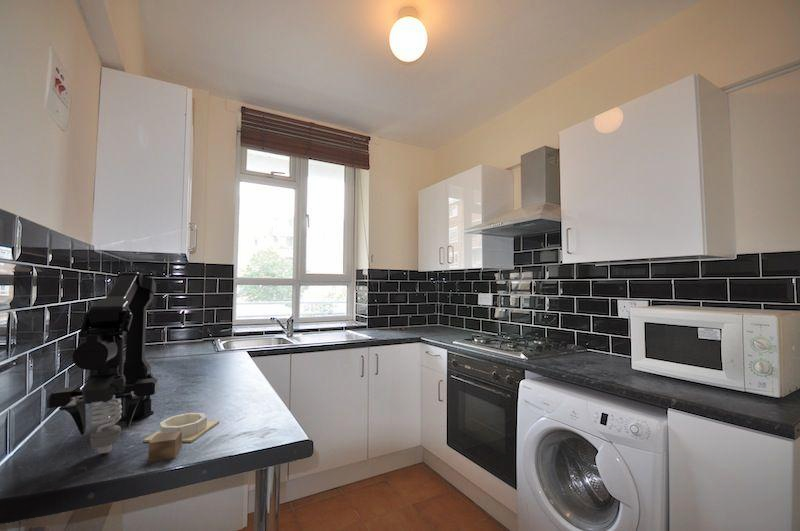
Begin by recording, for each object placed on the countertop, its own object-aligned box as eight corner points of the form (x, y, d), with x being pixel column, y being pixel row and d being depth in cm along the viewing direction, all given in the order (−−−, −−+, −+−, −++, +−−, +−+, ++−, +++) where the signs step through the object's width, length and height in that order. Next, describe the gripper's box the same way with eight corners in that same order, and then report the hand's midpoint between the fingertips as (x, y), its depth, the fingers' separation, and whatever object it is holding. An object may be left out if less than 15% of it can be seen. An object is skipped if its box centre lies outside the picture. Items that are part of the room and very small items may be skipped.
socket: (142, 441, 86) (143, 429, 86) (176, 422, 98) (176, 411, 98) (191, 442, 86) (191, 429, 86) (219, 422, 97) (219, 411, 98)
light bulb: (101, 448, 83) (102, 395, 84) (127, 447, 83) (128, 394, 84) (81, 460, 77) (83, 403, 78) (109, 459, 78) (110, 402, 78)
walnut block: (148, 462, 76) (148, 442, 77) (156, 451, 81) (156, 433, 81) (175, 458, 78) (175, 439, 78) (181, 448, 83) (181, 430, 83)
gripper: (36, 373, 70) (33, 455, 69) (151, 362, 78) (150, 435, 78) (58, 362, 80) (56, 434, 79) (158, 353, 88) (157, 418, 88)
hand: (105, 430), depth 81 cm, fingers open, 8 cm apart
